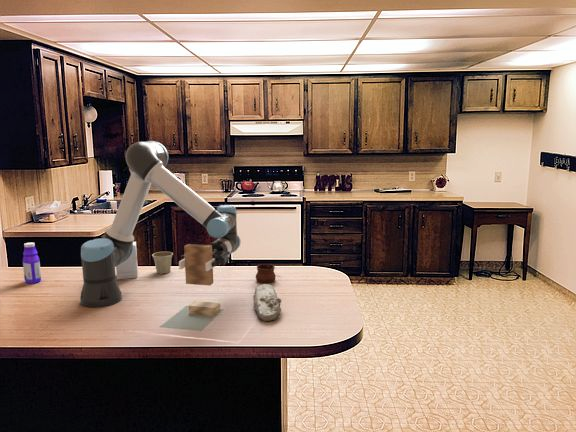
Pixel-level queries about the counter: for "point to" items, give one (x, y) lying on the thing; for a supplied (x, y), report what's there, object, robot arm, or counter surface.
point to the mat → (188, 320)
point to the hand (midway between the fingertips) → (193, 266)
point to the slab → (198, 264)
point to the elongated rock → (266, 302)
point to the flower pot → (162, 261)
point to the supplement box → (128, 266)
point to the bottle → (31, 264)
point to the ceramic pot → (265, 274)
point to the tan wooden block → (204, 308)
